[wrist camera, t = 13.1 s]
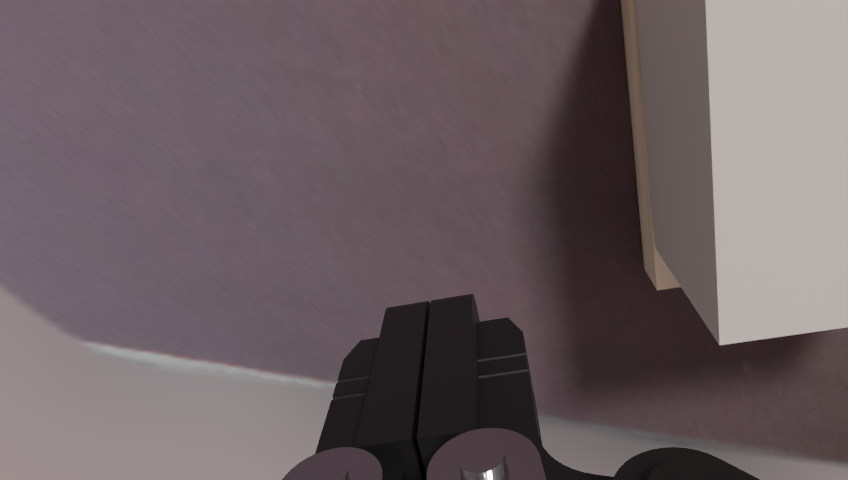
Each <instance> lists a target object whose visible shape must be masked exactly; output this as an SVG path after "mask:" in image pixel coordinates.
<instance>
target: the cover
mask: <svg viewBox="0 0 848 480" xmlns="http://www.w3.org/2000/svg"><path fill="white" fill-rule="evenodd" d="M636 10H637V22H638V35H639V47H640V60H641V72H642V85H643V97H644V110H645V122H646V135H647V148H648V160H649V173H650V185H651V198H652V210H653V223H654V235H655V248H656V250H657V252H658V253H659V255H660V256H661V258H662V259H663V261H664V262H665V264H666V265H667V267H668V268H669V270H670V271H671V273H672V274H673V276H674V277H675V279H676V280H677V282H678V283H679V285H680V286H681V288H682V289H683V291H684V292H685V294H686V295H687V297H688V298H689V300H690V301H691V303H692V305H693V306H694V308H695V309H696V311H697V312H698V314H699V315H700V317H701V318H702V320H703V321H704V323H705V324H706V326H707V327H708V329H709V330H710V332H711V333H712V335H713V336H714V338H715V339H716V341H717V342H718V344H719V345H726V344H734V343H741V342H748V341H755V340H762V339H769V338H776V337H783V336H790V335H797V334H804V333H811V332H818V331H825V330H832V329H839V328H846V327H848V0H636Z"/></svg>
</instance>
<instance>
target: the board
mask: <svg viewBox="0 0 848 480" xmlns="http://www.w3.org/2000/svg"><path fill="white" fill-rule="evenodd" d="M621 10H622V21H623V32H624V44H625V55H626V66H627V78H628V89H629V100H630V112H631V123H632V135H633V146H634V157H635V169H636V180H637V191H638V203H639V214H640V225H641V237H642V248H643V260H644V269H645V271H646V272H647V274H648V276H649V278H650V279H651V281H652V283H653V284H654V286H655V288H656V290H657V291H658V290H664V289H671V288H677V287H681V286H680V285H679V283H678V282H677V280H676V279H675V277H674V276H673V274H672V273H671V271H670V270H669V268H668V267H667V265H666V264H665V262H664V261H663V259H662V258H661V256H660V255H659V253H658V252H657V250H656V248H655V235H654V223H653V210H652V198H651V185H650V173H649V160H648V148H647V135H646V122H645V110H644V97H643V85H642V72H641V60H640V47H639V35H638V22H637V10H636V0H621Z"/></svg>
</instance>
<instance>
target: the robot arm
mask: <svg viewBox="0 0 848 480" xmlns="http://www.w3.org/2000/svg"><path fill="white" fill-rule="evenodd" d="M282 480H759V479H758V478H755V477H754V476H752V475H749V474H748V473H746V472H744V471H742V470H740V469H738V468H736V467H734V466H732V465H730V464H728V463H727V462H725V461H723V460H721V459H719V458H717V457H714V456H712V455H710V454H707V453H704V452H701V451H698V450H693V449H687V448H676V447H671V448H659V449H653V450H650V451H646V452H643V453H641V454H638V455H636V456H634V457H632V458H631V459H629V460H628V461H626V462H625V463H624V465H622V466H621V467H620V468H619V470H618V471H617V473H616V474H615V476H614V477H609V476H601V475H594V474H589V473H584V472H580V471H577V470H574V469H571V468H569V467H567V466H565V465H562V464H561V463H559V462H558V461H556V460H555V459H554V458H553V457H551V456H550V455H549V454H548V453H547V451H546V450H545V449H544V448H543V446H542V441H541V435H540V428H539V421H538V415H537V409H536V403H535V397H534V392H533V386H532V381H531V375H530V369H529V364H528V358H527V353H526V347H525V342H524V336H523V332H522V331H521V330H520V329H519V328H518V327H517V326H516V325H515V324H514V323H513V322H512V321H511V320H510V319H509V318H502V319H495V320H489V321H482V322H480V320H479V316H478V311H477V306H476V302H475V298H474V295H473V294H469V295H463V296H457V297H450V298H444V299H438V300H432V301H431V303H429V302H428V301H426V302H420V303H414V304H408V305H402V306H395V307H389V308H387V309H386V311H385V315H384V320H383V324H382V329H381V333H380V337H379V338H374V339H367V340H361V341H360V342H359V343H358V344H357V345H356V346H355V347H354V349H353V350H352V351H351V352H350V353H349V354H348V355H347V356H346V358H345V359H344V360H343V364H342V367H341V370H340V374H339V377H338V383H337V384H336V387H335V390H334V394H333V400H332V401H331V403H330V407H329V410H328V413H327V417H326V421H325V423H324V427H323V430H322V433H321V437H320V440H319V444H318V446H317V450H316V453H315V454H314V455H313V456H311V457H308V458H307V459H305V460H303V461H302V462H300V463H299V464H298V465H296V466H295V467H294V468H293V469H291V470H290V471H289V472H288V474H287V475H286V476H285V477H284V478H283V479H282Z"/></svg>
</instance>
